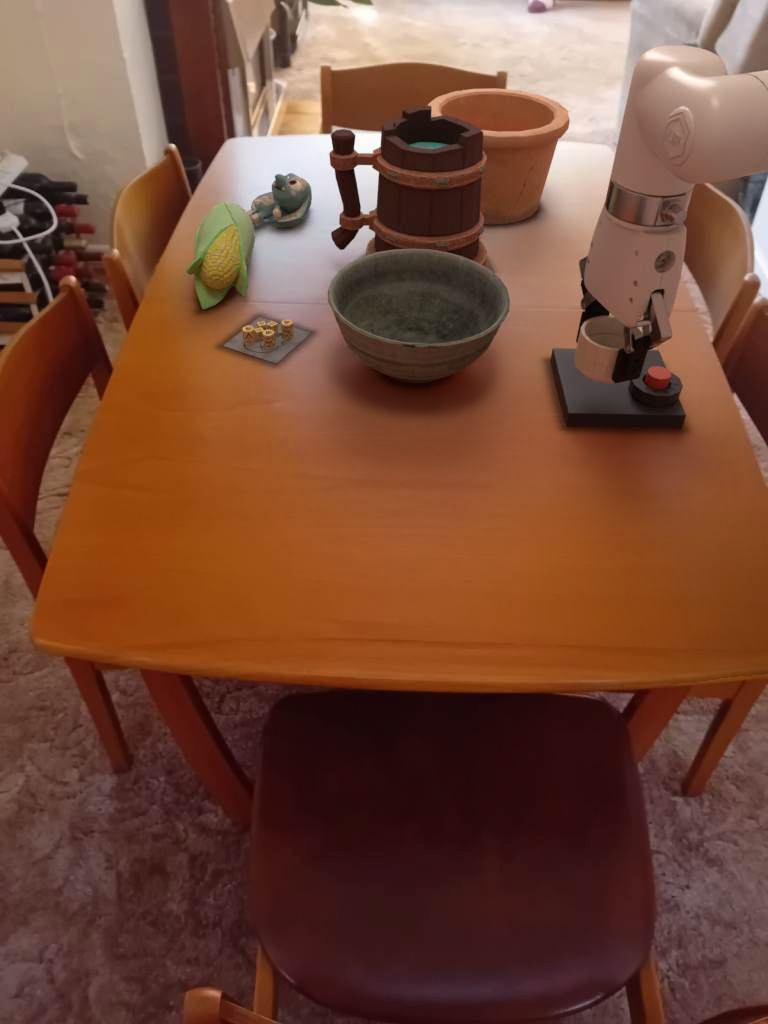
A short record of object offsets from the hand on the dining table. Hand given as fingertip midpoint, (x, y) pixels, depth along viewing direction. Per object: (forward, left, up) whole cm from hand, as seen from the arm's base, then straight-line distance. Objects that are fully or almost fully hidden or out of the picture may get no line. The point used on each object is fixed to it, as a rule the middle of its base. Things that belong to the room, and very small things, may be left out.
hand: (606, 359), depth 86 cm
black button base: (-4, -2, -7) cm, 8 cm away
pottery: (-12, -55, -7) cm, 57 cm away
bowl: (+16, -15, -7) cm, 23 cm away
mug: (+8, -38, -7) cm, 39 cm away
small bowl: (0, 0, -1) cm, 1 cm away
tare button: (-6, +2, -4) cm, 7 cm away
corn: (+34, -44, -7) cm, 56 cm away
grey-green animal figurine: (+22, -60, -7) cm, 64 cm away
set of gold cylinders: (+32, -26, -7) cm, 42 cm away
